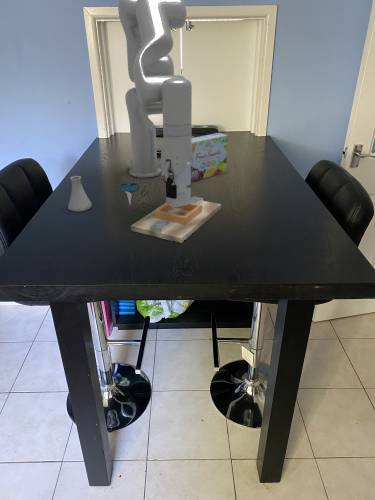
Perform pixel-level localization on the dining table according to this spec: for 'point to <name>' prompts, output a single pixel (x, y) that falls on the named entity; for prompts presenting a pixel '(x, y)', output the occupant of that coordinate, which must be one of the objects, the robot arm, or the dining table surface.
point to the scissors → (129, 190)
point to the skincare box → (182, 188)
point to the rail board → (176, 220)
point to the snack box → (208, 155)
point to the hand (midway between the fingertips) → (178, 192)
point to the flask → (78, 196)
